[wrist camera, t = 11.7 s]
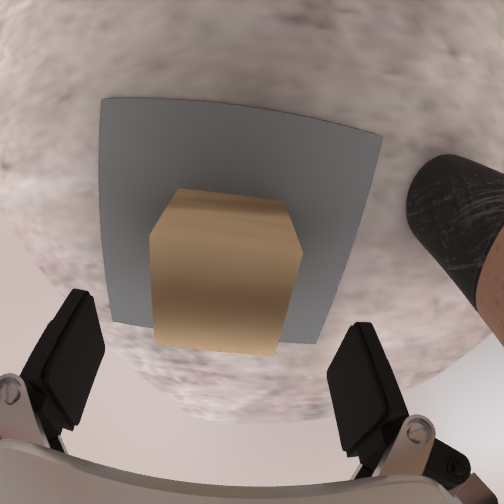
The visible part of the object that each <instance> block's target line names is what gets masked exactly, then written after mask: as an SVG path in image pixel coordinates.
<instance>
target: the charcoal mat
mask: <svg viewBox="0 0 504 504" xmlns="http://www.w3.org/2000/svg"><path fill="white" fill-rule="evenodd" d="M382 139H383V137H382V136H379V135H377V134H373V133H370V132H366V131H363V130H359V129H356V128H352V127H348V126H344V125H340V124H336V123H332V122H328V121H324V120H319V119H315V118H310V117H305V116H300V115H295V114H290V113H285V112H279V111H273V110H267V109H261V108H255V107H248V106H240V105H233V104H224V103H215V102H204V101H192V100H177V99H155V98H107V99H101V111H100V128H99V207H100V224H101V237H102V248H103V258H104V267H105V275H106V283H107V290H108V296H109V303H110V309H111V315H112V320H113V322H119V323H124V324H130V325H136V326H142V327H148V328H154V325H153V312H152V297H151V278H150V245H149V235H150V233H151V232H152V230H153V228H154V227H155V225H156V223H157V222H158V220H159V218H160V217H161V215H162V213H163V212H164V210H165V209H166V207H167V205H168V204H169V202H170V201H171V199H172V197H173V196H174V194H175V193H176V191H177V190H178V188H180V189H190V190H200V191H209V192H218V193H227V194H235V195H243V196H251V197H259V198H266V199H273V200H281V201H284V203H285V205H286V208H287V211H288V213H289V216H290V219H291V221H292V224H293V227H294V229H295V232H296V235H297V237H298V240H299V243H300V246H301V248H302V251H303V255H302V259H301V263H300V267H299V270H298V274H297V278H296V281H295V285H294V289H293V292H292V296H291V300H290V303H289V307H288V310H287V314H286V317H285V321H284V324H283V328H282V331H281V334H280V338H279V341H278V342H285V343H304V344H316V342H317V339H318V337H319V335H320V332H321V330H322V327H323V325H324V322H325V320H326V317H327V315H328V312H329V309H330V307H331V304H332V302H333V299H334V296H335V294H336V291H337V288H338V285H339V283H340V280H341V277H342V274H343V271H344V269H345V266H346V263H347V260H348V257H349V254H350V251H351V248H352V245H353V242H354V239H355V236H356V233H357V229H358V226H359V223H360V220H361V217H362V213H363V210H364V207H365V203H366V200H367V196H368V193H369V189H370V186H371V182H372V178H373V175H374V171H375V167H376V163H377V159H378V155H379V151H380V147H381V143H382Z"/></svg>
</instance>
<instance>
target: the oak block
mask: <svg viewBox="0 0 504 504" xmlns="http://www.w3.org/2000/svg"><path fill="white" fill-rule="evenodd" d="M149 245H150V278H151V297H152V312H153V325H154V336H155V343H156V344H163V345H170V346H177V347H184V348H192V349H201V350H210V351H219V352H230V353H242V354H255V355H270V356H274V354H275V351H276V348H277V344H278V341H279V338H280V334H281V331H282V328H283V324H284V321H285V317H286V314H287V310H288V307H289V303H290V300H291V296H292V292H293V289H294V285H295V281H296V278H297V274H298V270H299V267H300V263H301V259H302V255H303V251H302V248H301V246H300V243H299V240H298V237H297V235H296V232H295V229H294V227H293V224H292V221H291V219H290V216H289V213H288V211H287V208H286V205H285V203H284V201H281V200H273V199H266V198H259V197H251V196H243V195H235V194H227V193H218V192H209V191H200V190H190V189H180V188H178V190H177V191H176V193H175V194H174V196H173V197H172V199H171V201H170V202H169V204H168V205H167V207H166V209H165V210H164V212H163V213H162V215H161V217H160V218H159V220H158V222H157V223H156V225H155V227H154V228H153V230H152V232H151V233H150V235H149Z"/></svg>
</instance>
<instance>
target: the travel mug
mask: <svg viewBox="0 0 504 504" xmlns="http://www.w3.org/2000/svg"><path fill="white" fill-rule="evenodd" d="M407 218H408V223H409V225H410V228H411V230H412V232H413V234H414V235H415V236H416V237H417V239H418V240H419V241H420V242H421V244H422V245H423V246H424V247H425V248H426V249H427V250H428V252H429V253H430V254H431V255H432V256H433V257H434V258H435V260H436V261H437V262H438V263H439V264H440V265H441V267H442V268H443V269H444V270H445V271H446V273H447V274H448V275H449V276H450V277H451V279H452V280H453V281H454V282H455V284H456V285H457V286H458V287H459V289H460V290H461V291H462V293H463V294H464V295H465V296H466V298H467V299H468V300H469V302H470V303H471V304H472V306H473V307H474V308H475V310H476V311H477V312H478V313H479V315H480V316H481V318H482V319H483V320H484V321H485V323H486V324H487V325H488V326H489V328H490V329H491V330H492V332H493V333H494V334H495V336H496V337H497V338H498V340H499V341H500V342H501V344H502V345H503V347H504V174H502V173H500V172H498V171H496V170H493V169H491V168H489V167H486V166H484V165H481V164H479V163H476V162H474V161H471V160H469V159H466V158H463V157H460V156H456V155H442V156H439V157H436V158H434V159H432V160H431V161H429V162H428V163H427V164H426V165H425V166H424V167H423V168H422V169H421V170H420V171H419V173H418V174H417V176H416V177H415V179H414V181H413V183H412V185H411V188H410V191H409V194H408V199H407Z"/></svg>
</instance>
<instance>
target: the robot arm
mask: <svg viewBox="0 0 504 504" xmlns="http://www.w3.org/2000/svg"><path fill="white" fill-rule="evenodd" d="M104 353H105V344H104V340H103V336H102V332H101V328H100V324H99V320H98V316H97V311H96V307H95V302H94V298H93V296H90V294H89V292H88V291H85V290H80V289H73V290H72V291H71V292H70V294H69V295H68V297H67V298H66V300H65V301H64V303H63V305H62V306H61V308H60V309H59V311H58V312H57V314H56V316H55V317H54V319H53V320H52V321H51V322H50V323H49V324H48V325H47V327H46V329H45V330H44V332H43V334H42V336H41V338H40V339H39V341H38V343H37V344H36V346H35V348H34V350H33V351H32V353H31V355H30V357H29V359H28V361H27V363H26V365H25V366H24V368H23V370H22V372H21V374H20V376H18V375H16V374H12V373H9V374H4V375H2V376H0V504H498V500H497V498H496V496H495V495H494V493H493V492H492V491H491V490H490V489H489V488H488V487H487V486H486V485H485V484H484V483H483V482H482V481H481V479H480V478H479V477H478V476H477V475H476V474H475V473H472V474H471V473H470V471H471V467H470V463H469V460H468V459H467V457H466V456H465V455H463V454H461V453H460V452H458V451H457V450H455V449H453V448H452V447H450V446H448V445H446V444H445V443H443V442H441V441H440V440H438V439H436V438H435V435H436V434H435V428H434V426H433V424H432V422H431V421H430V420H429V419H428V418H426V417H424V416H422V415H411V416H409V413H408V411H407V408H406V405H405V402H404V400H403V397H402V394H401V392H400V389H399V386H398V384H397V381H396V379H395V376H394V374H393V371H392V369H391V366H390V364H389V361H388V359H387V358H386V355H385V353H384V350H383V348H382V346H381V343H380V341H379V339H378V336H377V334H376V332H375V329H374V327H373V325H372V323H370V322H356V323H355V324H354V325H353V326H350V327H349V329H348V331H347V333H346V335H345V337H344V339H343V341H342V343H341V345H340V347H339V349H338V351H337V353H336V355H335V357H334V359H333V361H332V362H331V364H330V366H329V368H328V370H327V381H328V385H329V389H330V394H331V398H332V403H333V408H334V412H335V417H336V422H337V426H338V431H339V436H340V441H341V446H342V449H343V451H346V453H347V457H355V456H359V460H360V464H359V466H358V467H357V469H356V471H355V472H354V474H353V475H352V477H351V479H350V480H349V481H340V482H332V483H323V484H313V485H300V486H277V487H244V486H223V485H208V484H198V483H190V482H182V481H175V480H168V479H162V478H156V477H151V476H146V475H141V474H136V473H132V472H127V471H123V470H119V469H115V468H111V467H108V466H104V465H100V464H97V463H93V462H90V461H87V460H83V459H80V458H77V457H74V456H71V455H69V454H68V452H67V450H66V448H65V446H64V443H63V441H62V439H61V436H60V435H61V432H62V429H63V428H65V429H67V430H71V431H73V429H74V426H75V425H76V426H77V425H78V424H79V422H80V419H81V417H82V413H83V410H84V407H85V405H86V402H87V399H88V396H89V393H90V390H91V387H92V385H93V382H94V379H95V376H96V374H97V371H98V368H99V366H100V363H101V360H102V358H103V356H104Z"/></svg>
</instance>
